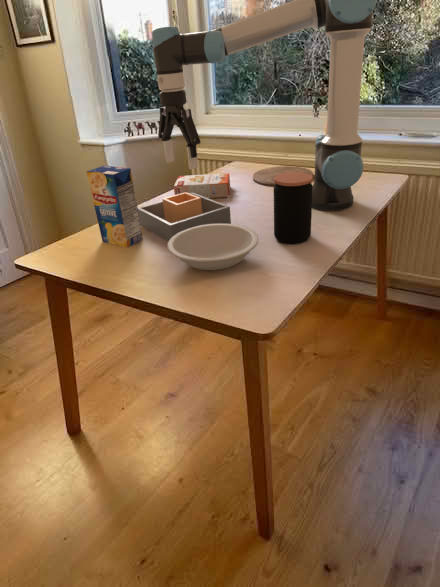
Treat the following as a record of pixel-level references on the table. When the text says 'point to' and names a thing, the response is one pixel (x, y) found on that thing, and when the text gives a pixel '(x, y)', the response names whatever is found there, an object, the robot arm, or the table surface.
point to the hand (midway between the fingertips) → (181, 165)
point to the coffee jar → (292, 207)
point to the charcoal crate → (211, 214)
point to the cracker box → (204, 185)
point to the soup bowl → (213, 245)
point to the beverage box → (115, 205)
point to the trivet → (268, 174)
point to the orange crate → (181, 207)
